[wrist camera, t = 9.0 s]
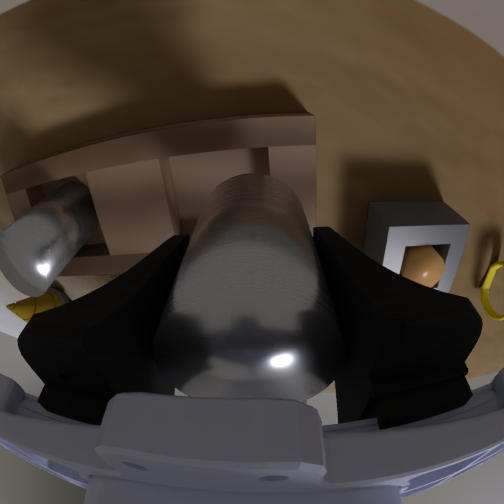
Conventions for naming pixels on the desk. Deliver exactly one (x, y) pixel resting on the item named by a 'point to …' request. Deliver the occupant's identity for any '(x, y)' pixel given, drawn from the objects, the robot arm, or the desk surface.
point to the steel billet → (250, 300)
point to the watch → (485, 291)
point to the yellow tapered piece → (38, 304)
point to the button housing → (415, 234)
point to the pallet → (166, 179)
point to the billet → (47, 238)
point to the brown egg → (422, 265)
